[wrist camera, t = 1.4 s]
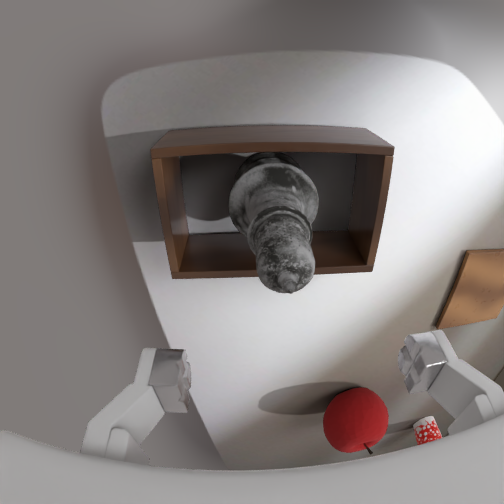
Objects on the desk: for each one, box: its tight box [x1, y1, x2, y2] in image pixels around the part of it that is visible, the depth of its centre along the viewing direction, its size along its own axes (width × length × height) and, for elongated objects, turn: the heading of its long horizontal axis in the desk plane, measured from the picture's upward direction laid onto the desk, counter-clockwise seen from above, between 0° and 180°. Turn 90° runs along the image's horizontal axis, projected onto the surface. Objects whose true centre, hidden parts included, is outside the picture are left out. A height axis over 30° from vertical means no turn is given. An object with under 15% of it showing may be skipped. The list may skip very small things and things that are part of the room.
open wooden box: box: [150, 125, 394, 279], centre depth 21 cm, size 9×14×5 cm, turn 91°
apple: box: [323, 387, 388, 454], centre depth 37 cm, size 9×9×10 cm
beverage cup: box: [413, 416, 442, 445], centre depth 45 cm, size 6×6×14 cm
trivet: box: [436, 249, 504, 329], centre depth 30 cm, size 11×11×1 cm
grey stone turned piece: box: [228, 152, 319, 294], centre depth 19 cm, size 6×6×12 cm
